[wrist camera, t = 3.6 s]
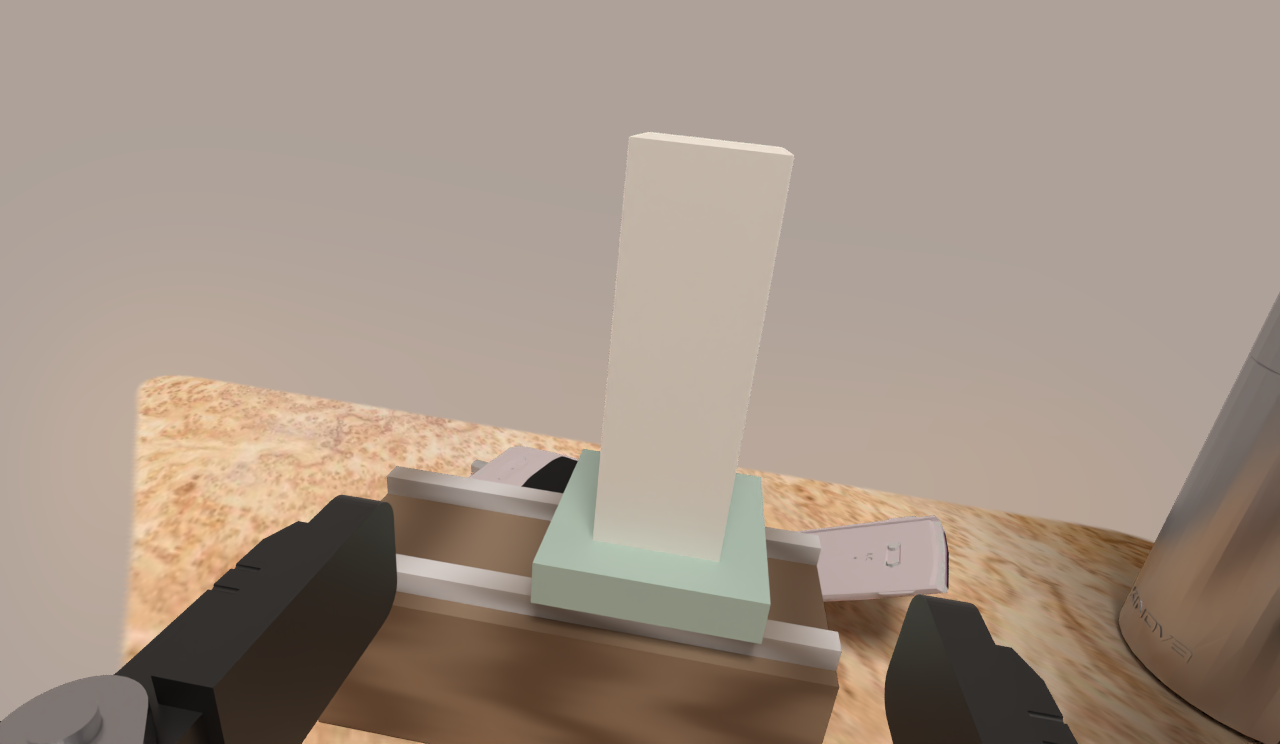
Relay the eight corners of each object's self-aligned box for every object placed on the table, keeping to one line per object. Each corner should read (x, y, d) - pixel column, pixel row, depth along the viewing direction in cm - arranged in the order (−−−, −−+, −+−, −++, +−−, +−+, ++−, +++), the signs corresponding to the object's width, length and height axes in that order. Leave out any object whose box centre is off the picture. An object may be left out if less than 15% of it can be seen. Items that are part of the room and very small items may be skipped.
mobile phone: (953, 596, 24) (417, 418, 32) (910, 711, 26) (418, 517, 34) (948, 516, 29) (488, 380, 38) (913, 618, 32) (485, 468, 40)
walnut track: (784, 656, 28) (817, 526, 25) (799, 818, 22) (844, 667, 19) (409, 588, 29) (403, 458, 27) (318, 721, 23) (299, 568, 20)
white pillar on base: (754, 509, 26) (827, 150, 20) (761, 644, 19) (870, 168, 14) (580, 481, 26) (608, 125, 21) (530, 602, 20) (553, 130, 14)
